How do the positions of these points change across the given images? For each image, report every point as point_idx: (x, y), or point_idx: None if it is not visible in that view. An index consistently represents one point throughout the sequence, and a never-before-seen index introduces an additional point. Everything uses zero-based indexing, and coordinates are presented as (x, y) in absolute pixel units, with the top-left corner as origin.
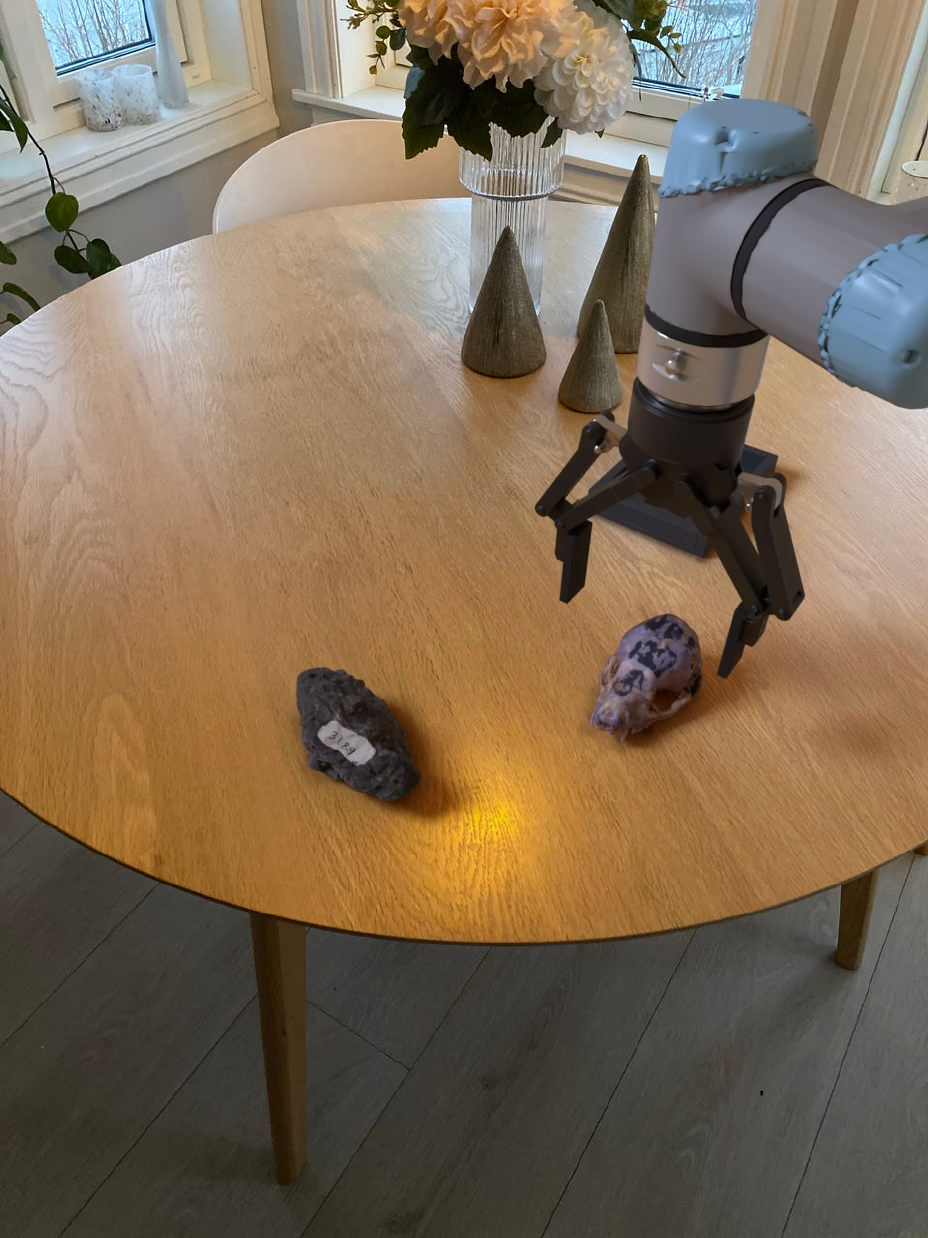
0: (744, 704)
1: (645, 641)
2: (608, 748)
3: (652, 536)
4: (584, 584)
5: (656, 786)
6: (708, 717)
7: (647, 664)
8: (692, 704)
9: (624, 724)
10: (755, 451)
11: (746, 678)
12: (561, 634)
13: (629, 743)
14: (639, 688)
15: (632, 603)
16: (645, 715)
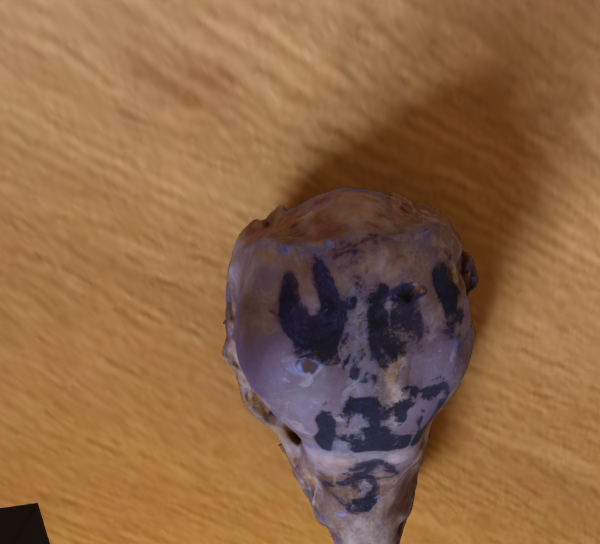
0: (560, 197)
1: (338, 408)
2: None
3: None
4: (33, 513)
5: (505, 511)
6: (506, 294)
7: (385, 445)
8: None
9: (404, 522)
10: None
11: (527, 109)
12: (54, 317)
13: None
14: (395, 476)
15: (102, 65)
16: (421, 458)
